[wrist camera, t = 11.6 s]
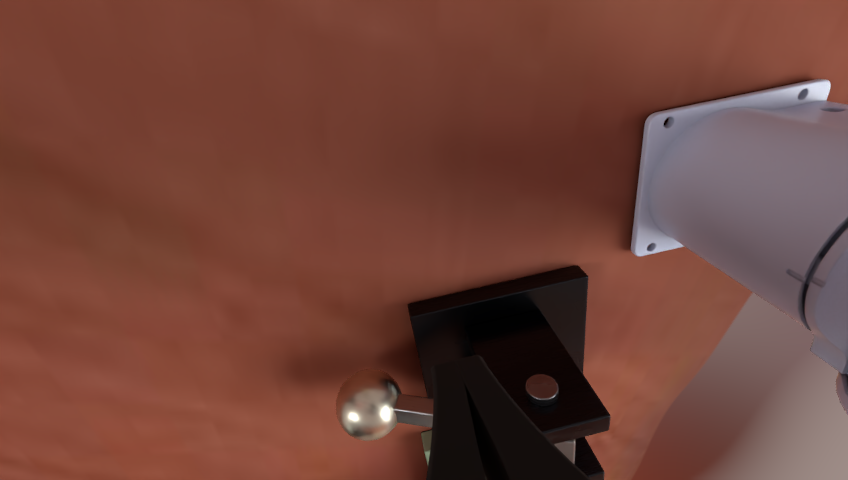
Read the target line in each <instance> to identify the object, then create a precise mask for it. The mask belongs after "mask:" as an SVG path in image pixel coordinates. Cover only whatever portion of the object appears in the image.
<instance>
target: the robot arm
mask: <svg viewBox="0 0 848 480" xmlns="http://www.w3.org/2000/svg"><path fill="white" fill-rule="evenodd" d="M830 86H831V84H830V81H828V80H825V79H815V80H810V81H806V82H801V83H796V84H791V85H786V86H781V87H776V88H771V89H767V90H762V91H757V92H752V93H747V94H742V95H737V96H733V97H728V98H723V99H718V100H713V101H708V102H703V103H698V104H694V105H689V106H684V107H679V108H674V109H669V110H664V111H660V112H655V113H653V114H651V115H650V116H649V117H648V118H647V120H646V122H645V126H644V135H643V144H642V152H641V161H640V170H639V179H638V188H637V197H636V206H635V215H634V224H633V232H632V241H631V251H632V253H633V254H635V255H636V256H645V255H649V254H653V253H658V252H662V251H666V250H671V249H675V248H679V247H684V246H685V247H686V248H688V249H689V250H691V251H692V252H694V253H695V254H697V255H698V256H700V257H701V258H703V259H704V260H706V261H707V262H709V263H710V264H712V265H713V266H715V267H716V268H718V269H719V270H721V271H722V272H724V273H725V274H727V275H728V276H730V277H731V278H733V279H734V280H736V281H737V282H739V283H740V284H742V285H743V286H745V287H746V288H748V289H749V290H751V291H752V292H753V293H755V294H756V295H758V296H760V297H761V298H763V299H764V300H765V301H767V302H768V303H770V304H771V305H773V306H774V307H776V308H777V309H779V310H780V311H782V312H783V313H785V314H786V315H788V316H789V317H791V318H792V319H794V320H795V321H797V322H798V323H800V324H801V325H803V326H804V327H806V328H807V329H809V330H810V331H812V332H813V342H812V345H811V348H810V351H811V352H812V353H814V354H815V355H817V356H818V357H819V358H821V359H822V360H824V361H825V362H826V363H828V364H829V365H831V366H832V367H833V368H835V369H836V370H838V371H839V373H838V376H837V379H836V391H837V394H838V397H839V400H840V403H841V404H842V406H843V408H844V410H845V411H846V413H847V415H848V105H846V104H840V103H834V102H828V101H826V100H827V97H828V94H829V91H830ZM799 93H800V94H799ZM667 118H668V119H669V120H668V122H667V123H666V125H664V121H665V120H666V119H667ZM649 244H651V245H650V246H649V247H648V245H649ZM431 374H432V381H433V423H432V438H431V448H430V455H429V463H428V471H427V478H426V480H591V479H590V478H589V477H588V476H587V475H586V474H585V473H583V472H582V471H581V470H580V469H579V468H578V467H577V466H576V465H575V464H574V463H572V462H571V461H570V460H569V459H568V458H567V457H566V456H565V455H564V454H563V453H562V452H561V451H560V450H559V449H558V448H557V447H556V446H555V445H554V444H553V443H552V442H551V441H550V440H549V439H548V438H547V437H546V436H545V435H544V434H543V433H542V432H541V431H540V430H539V428H538V427H537V426H536V425H535V424H534V423H533V422H532V421H531V420H530V419H529V417H528V416H527V415H526V414H525V413H524V412H523V411H522V409H521V408H520V407H519V406H518V405H517V404H516V403H515V401H514V400H513V399H512V398H511V397H510V395H509V394H508V393H507V392H506V390H505V389H504V388H503V387H502V385H501V384H500V383H499V381H498V380H497V379H496V377H495V376H494V375H493V373H492V372H491V370H490V369H489V367H488V366H487V364H486V363H485V361H484V360H483V358H482V357H481V356H479V355H474V356H470V357H465V358H461V359H457V360H453V361H449V362H445V363H441V364H437V365H434V366H433V367H432V368H431Z"/></svg>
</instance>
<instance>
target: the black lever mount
mask: <svg viewBox="0 0 848 480" xmlns="http://www.w3.org/2000/svg"><path fill="white" fill-rule="evenodd" d="M587 289H588V276H587V275H586V273H585V272H584V271H583V270H582V269H581V268H580V267H579V266H572V267H568V268H564V269H559V270H555V271H551V272H546V273H542V274H538V275H533V276H529V277H524V278H520V279H516V280H511V281H507V282H503V283H498V284H494V285H490V286H485V287H481V288H477V289H472V290H468V291H464V292H459V293H455V294H450V295H446V296H442V297H437V298H433V299H429V300H424V301H420V302H416V303H411V304H408V310H409V315H410V320H411V324H412V329H413V333H414V338H415V342H416V347H417V351H418V355H419V360H420V364H421V369H422V373H423V378H424V382H425V387H426V391H427V396H428V398H433V381H432V374H431V368H432V367H433V366H434V365H437V364H441V363H445V362H449V361H453V360H457V359H461V358H465V357H470V356H474V355H479V356H481V357H482V358H483V360H484V361H485V363H486V364H487V366H488V367H489V369H490V370H491V372H492V373H493V375H494V376H495V377H496V379H497V380H498V381H499V383H500V384H501V385H502V387H503V388H504V389H505V390H506V392H507V393H508V394H509V395H510V397H511V398H512V399H513V400H514V401H515V403H516V404H517V405H518V406H519V407H520V408H521V409H522V411H523V412H524V413H525V414H526V415H527V416H528V417H529V419H530V420H531V421H532V422H533V423H534V424H535V425H536V426H537V427H538V428H539V430H540V431H541V432H542V433H543V434H544V435H545V436H546V437H547V438H548V439H549V440H550V441H551V442H552V443H553V444H558V443H562V442H566V441H570V440H573V439H575V463H574V464H575V465H576V466H577V467H578V468H579V469H580V470H581V471H582V472H583V473H585V474H586V475H587V476H588V477H589V478H590V479H591V480H604V470H603V469H602V467H601V465H600V463H599V462H598V460H597V458H596V456H595V455H594V453H593V451H592V449H591V447H590V446H589V444H588V442H587V440H586V439H585V436H589V435H593V434H597V433H600V432H604V431H608V430H609V426H610V414H609V413H608V411H607V410H606V408H605V407H604V405H603V404H602V402H601V401H600V399H599V398H598V396H597V395H596V393H595V392H594V390H593V389H592V387H591V386H590V384H589V383H588V381H587V380H586V378H585V377H584V375H583V362H584V344H585V325H586V307H587Z"/></svg>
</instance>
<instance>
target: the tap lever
mask: <svg viewBox="0 0 848 480" xmlns="http://www.w3.org/2000/svg"><path fill="white" fill-rule="evenodd" d="M336 414H337V418H338V421H339V423H340V425H341V426H342V428H343V429H344V430H345V431H346V432H347V433H348V434H349V435H350V436H352V437H354V438H356V439H359V440H363V441H372V440H377V439H380V438H382V437H384V436H385V435H387V434H388V433H389V432H391V431H392V430H393V428H394V427H395V426H396V425H397V423H398V422H399V423H406V424H412V425H418V426H425V427H431V428H432V423H433V398H425V397H418V396H410V395H403V394H402V393H401V390H400V387H399V386H398V384H397V382H396V381H395V380H394V379H393V378H392V377H391V376H390V375H389V374H387V373H385V372H383V371H381V370H376V369H366V370H362V371H359V372H357V373H355V374H353V375H352V376H350V377H349V378H348V379H347V380H346V381H345V382H344V383H343V385H342V387H341V388H340V390H339V392H338V396H337V399H336ZM554 445H555V446H556V447H557V448H558V449H559V450H560V451H561V452H562V453H563V454H564V455H565V456H566V457H567V458H568V459H569V460H570V461H571V462H572V463H575V439H573V440H570V441H566V442H562V443H558V444H554Z"/></svg>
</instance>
